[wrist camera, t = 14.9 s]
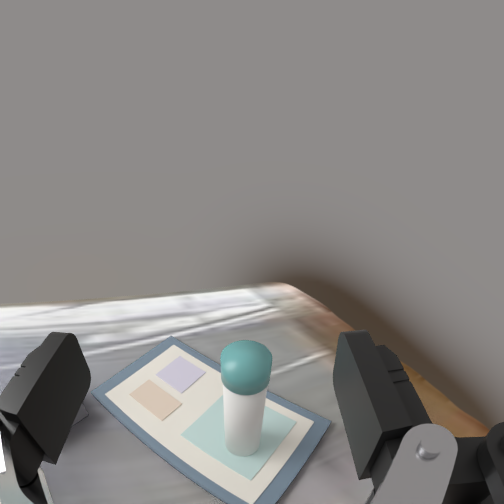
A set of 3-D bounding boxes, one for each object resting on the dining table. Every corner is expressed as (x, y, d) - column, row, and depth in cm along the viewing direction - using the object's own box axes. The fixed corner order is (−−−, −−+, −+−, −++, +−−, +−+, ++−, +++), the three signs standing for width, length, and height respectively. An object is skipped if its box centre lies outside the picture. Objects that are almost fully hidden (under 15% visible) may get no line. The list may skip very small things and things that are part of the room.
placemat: (92, 394, 30) (90, 390, 29) (171, 338, 39) (170, 334, 39) (260, 523, 19) (260, 521, 19) (330, 423, 29) (331, 420, 28)
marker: (216, 444, 26) (210, 360, 20) (238, 422, 28) (240, 333, 23) (247, 463, 24) (253, 384, 18) (267, 438, 26) (281, 353, 21)
